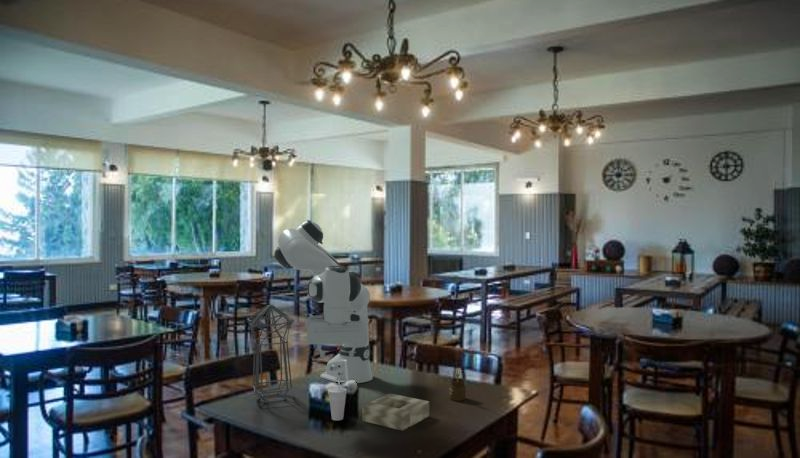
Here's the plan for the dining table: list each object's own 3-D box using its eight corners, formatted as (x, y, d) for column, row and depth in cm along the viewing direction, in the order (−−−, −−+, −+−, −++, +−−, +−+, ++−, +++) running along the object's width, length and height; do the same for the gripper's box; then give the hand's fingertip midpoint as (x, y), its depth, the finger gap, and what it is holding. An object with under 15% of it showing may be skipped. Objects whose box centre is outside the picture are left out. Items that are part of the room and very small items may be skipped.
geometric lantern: (297, 402, 202) (295, 306, 201) (252, 409, 197) (250, 310, 196) (289, 390, 217) (287, 300, 216) (247, 395, 211) (245, 303, 210)
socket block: (362, 420, 183) (362, 405, 183) (390, 407, 197) (390, 393, 197) (402, 430, 174) (402, 414, 174) (429, 416, 188) (429, 401, 188)
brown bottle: (465, 396, 209) (465, 364, 209) (465, 401, 203) (465, 368, 203) (449, 396, 210) (449, 364, 210) (449, 401, 204) (449, 368, 204)
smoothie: (343, 422, 182) (343, 379, 182) (325, 421, 183) (325, 378, 183) (349, 416, 188) (349, 374, 188) (331, 414, 189) (331, 373, 189)
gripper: (304, 317, 181) (304, 359, 181) (367, 316, 183) (367, 358, 183) (305, 314, 187) (305, 355, 187) (366, 313, 189) (367, 354, 189)
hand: (337, 356), depth 185 cm, fingers open, 8 cm apart
